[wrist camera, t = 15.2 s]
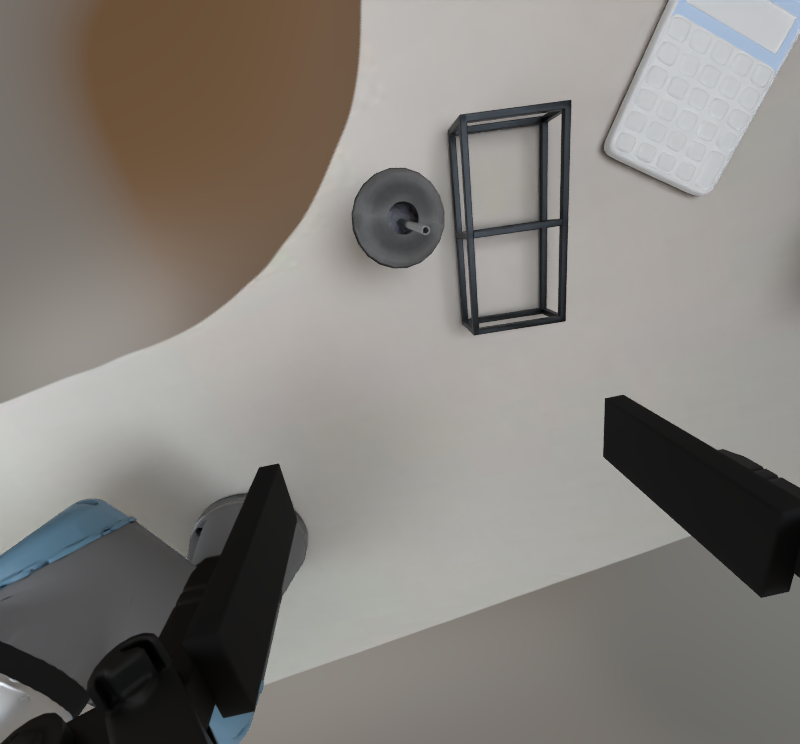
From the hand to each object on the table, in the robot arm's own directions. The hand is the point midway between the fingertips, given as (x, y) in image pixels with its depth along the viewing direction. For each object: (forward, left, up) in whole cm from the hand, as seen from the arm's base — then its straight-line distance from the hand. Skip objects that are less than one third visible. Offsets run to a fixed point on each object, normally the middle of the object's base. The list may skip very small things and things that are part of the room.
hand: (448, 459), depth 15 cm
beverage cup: (+1, +9, -30) cm, 32 cm away
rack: (+13, +7, -30) cm, 33 cm away
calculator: (+34, +19, -30) cm, 49 cm away
